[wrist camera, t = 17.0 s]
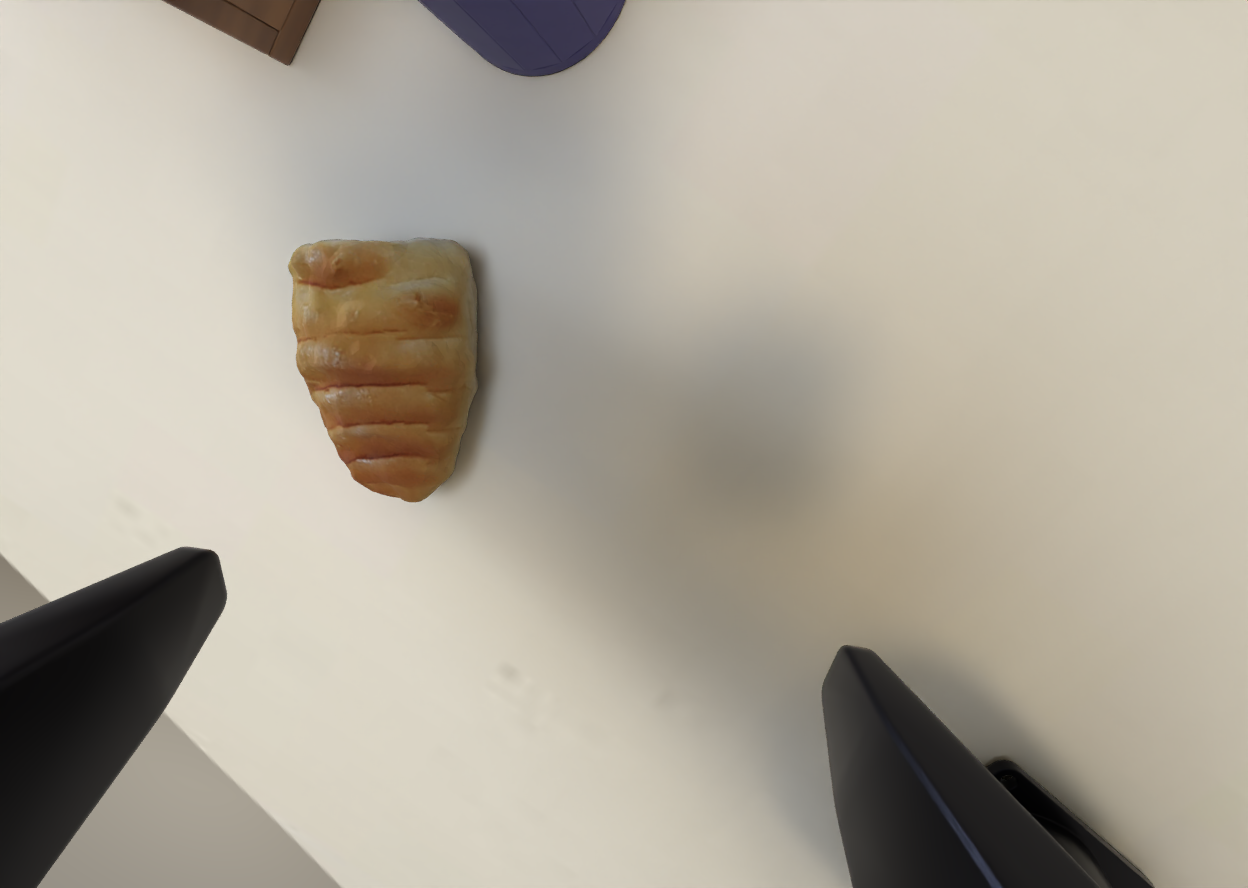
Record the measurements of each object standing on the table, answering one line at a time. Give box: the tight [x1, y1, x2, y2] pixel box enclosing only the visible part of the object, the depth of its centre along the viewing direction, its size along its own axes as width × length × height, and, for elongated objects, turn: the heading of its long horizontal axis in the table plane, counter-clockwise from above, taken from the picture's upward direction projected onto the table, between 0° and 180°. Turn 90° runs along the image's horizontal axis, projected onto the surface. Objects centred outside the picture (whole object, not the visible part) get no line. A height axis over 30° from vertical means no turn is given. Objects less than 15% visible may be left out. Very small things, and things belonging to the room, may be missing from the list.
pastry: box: [288, 238, 478, 502], centre depth 21 cm, size 9×7×4 cm
